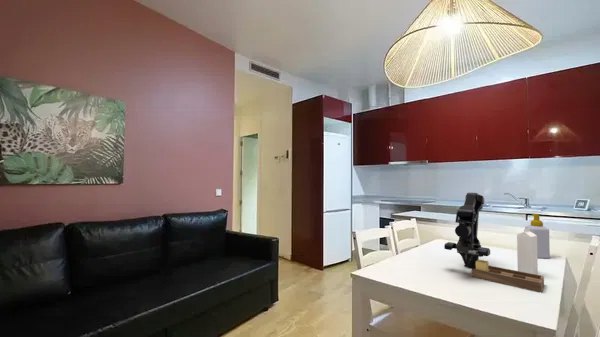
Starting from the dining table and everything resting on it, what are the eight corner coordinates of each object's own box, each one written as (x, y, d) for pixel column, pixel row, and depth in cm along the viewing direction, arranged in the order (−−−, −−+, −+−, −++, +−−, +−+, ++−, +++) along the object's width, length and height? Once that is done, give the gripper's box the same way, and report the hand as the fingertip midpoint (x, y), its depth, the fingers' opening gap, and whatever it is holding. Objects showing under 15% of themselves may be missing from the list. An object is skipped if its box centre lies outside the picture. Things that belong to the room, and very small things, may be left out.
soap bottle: (541, 254, 171) (540, 213, 172) (550, 259, 163) (550, 215, 163) (524, 253, 173) (523, 213, 174) (532, 258, 165) (532, 214, 165)
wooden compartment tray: (478, 271, 141) (478, 263, 141) (544, 284, 124) (543, 276, 124) (471, 277, 133) (471, 268, 133) (541, 292, 115) (541, 283, 115)
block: (478, 269, 136) (477, 259, 136) (488, 272, 133) (488, 261, 133) (475, 271, 133) (475, 261, 133) (486, 274, 130) (486, 263, 130)
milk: (537, 274, 137) (537, 229, 137) (532, 276, 134) (531, 230, 134) (523, 271, 142) (522, 227, 142) (517, 272, 139) (516, 228, 139)
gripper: (440, 233, 139) (440, 265, 138) (484, 240, 125) (485, 275, 125) (447, 230, 147) (448, 261, 146) (490, 236, 133) (490, 269, 133)
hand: (466, 266), depth 137 cm, fingers closed
